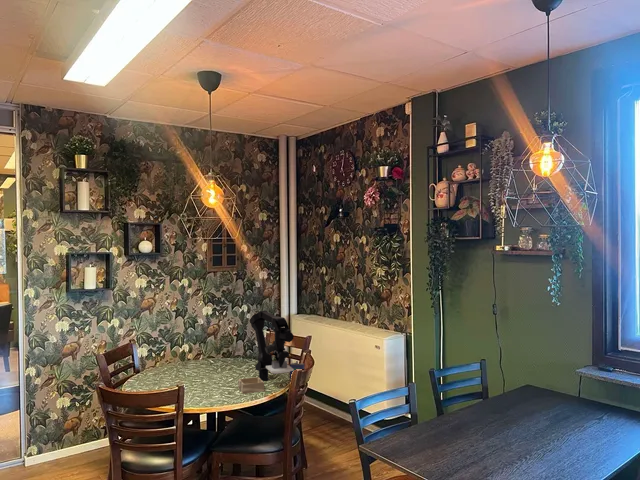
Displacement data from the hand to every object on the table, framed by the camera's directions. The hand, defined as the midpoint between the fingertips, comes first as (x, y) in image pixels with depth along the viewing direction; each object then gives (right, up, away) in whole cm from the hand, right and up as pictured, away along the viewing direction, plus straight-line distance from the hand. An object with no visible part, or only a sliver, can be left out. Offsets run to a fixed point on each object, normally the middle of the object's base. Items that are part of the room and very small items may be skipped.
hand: (279, 366), depth 278 cm
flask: (+9, -12, +17) cm, 23 cm away
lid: (0, -3, 0) cm, 3 cm away
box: (-16, -12, -7) cm, 21 cm away
